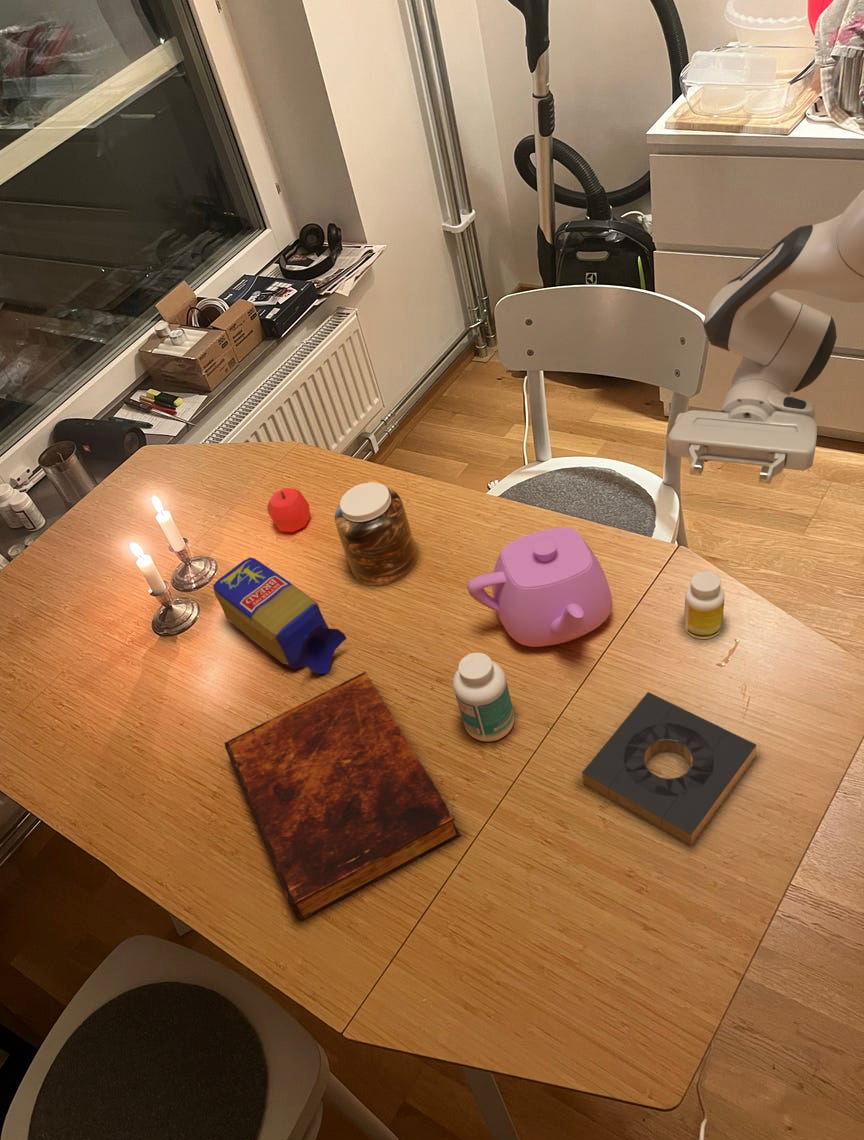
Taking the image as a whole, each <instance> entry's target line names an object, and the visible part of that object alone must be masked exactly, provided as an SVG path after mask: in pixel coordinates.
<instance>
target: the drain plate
mask: <svg viewBox="0 0 864 1140" xmlns="http://www.w3.org/2000/svg"><path fill="white" fill-rule="evenodd" d="M757 746H758V745H757V744H756V743H754V742H752V741H750V740H748V739H745V738H744V737H742V736H740V735H737V734H735V733H734V732H731V731H729V730H727V729H726V728H724V727H722V726H720V725H717V724H715V723H713V722H711V721H709V720H707V719H705V718H703V717H700V716H698V715H697V714H695V713H692V712H691V711H688V710H686V709H684V708H682V707H680V706H678V705H676V704H674V703H672V702H670V701H668V700H666V699H664V698H662V697H659V696H657V695H655V694H654V693H651V692H649V691H647V692H646V694H645V695H644V696H643V697H642V698H641V700H640V701H639V702H638V704H637V705H636V706H635V707H634V708H633V710H632V711H631V712H630V713H629V714H628V716H627V717H626V718H625V719H624V720H623V722H622V723H621V724H620V725H619V727H618V728H617V729H616V730H615V732H614V733H613V734H612V735H611V736H610V737H609V739H608V740H607V741H606V743H605V744H604V745H603V746H602V747H601V748H600V750H599V751H598V752H597V754H596V755H595V756H594V757H593V758H592V760H591V761H590V762H589V763H588V764H587V766H586V767H585V768H584V769H583V770H582V772H581V775H582V783H583V785H584V786H586V787H587V788H588V789H591V790H592V791H594V792H596V793H597V794H599V795H601V796H603V797H605V798H606V799H608V800H610V801H611V802H613V803H615V804H617V805H618V806H620V807H622V808H624V809H626V810H627V811H628V812H630V813H633V814H634V815H636V816H638V817H639V818H641V819H643V820H644V821H645V822H648V823H650V824H651V825H653V826H655V827H656V828H658V829H660V830H662V831H663V832H665V833H667V834H669V835H671V836H672V837H674V838H676V839H677V840H679V841H681V842H682V843H684V844H686V845H687V846H689V847H692V845H693V844H694V843H695V841H696V840H697V839H698V837H699V836H700V835H701V834H702V832H703V831H704V829H705V827H706V826H707V825H708V823H709V822H710V820H711V819H712V818H713V816H714V815H715V813H716V812H717V811H718V809H719V808H720V807H721V805H722V804H723V802H724V801H725V800H726V798H727V797H728V796H729V794H730V793H731V791H732V790H733V789H734V787H735V786H736V784H737V783H738V782H739V780H740V779H741V778H742V776H743V775H744V774H745V772H746V771H747V769H748V768H749V767H750V765H751V764H752V763H753V761H754V760H755V758H756V754H757ZM666 752H668V753H673V754H674V753H675V754H677V755H679V756H681V757H682V758H684V759H685V760H686V761H687V762H688V764H689V765H690V768H689V769H688V771H687V772H686V773H685V774H683V775H680V776H679V777H673V778H665V777H660V776H659V775H656V774H655V773H653V772H651V770H650V769H649V768H648V767H647V763H648V761H649V760H650V759H651V758H652V757H653V756H656V755H657V754H660V753H666Z"/></svg>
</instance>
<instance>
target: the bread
mask: <svg viewBox="0 0 864 1140" xmlns="http://www.w3.org/2000/svg"><path fill="white" fill-rule="evenodd" d="M212 587H213V592H214V596H215V598H216V600H217V601H218V603H219V605H220V606H221V609H222V611H223V613H224V616H225V618H226V619H227V620H228V621H229V622H230V623H231V624H233V625H234V626H235V627H236V628H238V629H239V630H240V631H241V632H243V634H245V635H246V636H247V637H248V638H249V639H250V640H252V641H253V642H255V643H256V644H257V645H259V646H260V647H261V648H262V649H264V650H265V651H266V652H267V653H268V654H270V655H271V656H273V657H274V658H275V659H277V660H278V661H279V662H281V663H282V664H283V665H285V666H286V667H288V668H290V669H293V670H295V671H296V670H298V669H302V668H304V667H306V668H308V669H310V670H311V671H313V672H314V673H315V674H321V675H325V674H328V673H331V663H332V658H333V656H334V654H335V652H336V650H337V649H338V648H339V647H340V646H341V645H342V643H343V642H345V641H346V640H347V636H346V634H345V633H344V632H342V631H341V630H339V629H338V628H329V626H328V624H327V622H326V619H325V618H324V616H323V614H322V611H321V609H320V605H319V603H318V602H317V601H316V600H314V599H313V597H311V596H310V595H308V594H306V593H305V592H304V591H303V590H301V589H300V588H298V587H297V586H296V585H295V584H294V583H292V582H290V581H289V580H287V579H286V578H284V577H283V576H281V575H280V574H278V572H276V571H274V570H273V569H271V568H270V567H268V566H267V565H265V564H264V563H262V562H261V561H260V560H258V559H256V558H255V557H248V558H246V559H244V560H242V561H241V562H239V563H238V564H237V565H236V566H234V567H233V568H232V569H231V570H229V571H227V573H225V574H224V575H223V576H221V577H220V578H219V579H217V580H216V582H215V583H213V584H212Z"/></svg>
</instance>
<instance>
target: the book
mask: <svg viewBox="0 0 864 1140" xmlns="http://www.w3.org/2000/svg"><path fill="white" fill-rule="evenodd" d="M224 749H225V750H226V753H227V756H228V758H229V760H230V763H231V765H232V768H233V770H234V772H235V775H236V777H237V780H238V783H239V784H240V787H241V789H242V791H243V795H244V797H245V799H246V801H247V804H248V806H249V809H250V811H251V814H252V816H253V819H254V821H255V824H256V826H257V829H258V831H259V833H260V835H261V839H262V841H263V844H264V845H265V848H266V850H267V853H268V855H269V858H270V860H271V863H272V865H273V867H274V870H275V872H276V875H277V878H278V880H279V882H280V885H281V887H282V889H283V892H284V894H285V897H286V899H287V901H288V904H289V906H290V907H291V909H292V911H293V912H294V913H295V915H296V916H297V918H298V919H299V920H300V921H302V922H304V921H306V920H308V919H310V918H312V917H313V916H315V915H317V914H320V913H321V912H323V911H324V910H327V909H328V908H331V907H332V906H333V905H336V904H337V903H340V902H342V901H343V900H345V899H348V898H349V897H350V896H353V895H355V894H357V893H358V892H360V891H363V890H364V889H366V888H367V887H369V886H371V885H373V884H375V883H376V882H379V881H380V880H382V879H384V878H386V877H388V876H390V875H391V874H393V873H396V872H397V871H399V870H401V869H403V868H405V867H407V866H409V865H410V864H412V863H414V862H416V861H418V860H419V859H422V858H423V857H425V856H427V855H429V854H431V853H433V852H434V851H436V850H438V849H440V848H442V847H444V846H445V845H447V844H449V843H451V842H453V841H455V840H457V839H458V838H460V837H462V833H461V832H460V830H459V829H458V827H457V825H456V823H455V822H454V821H455V820H456V818H455V816H454V814H453V812H452V811H451V809H450V808H449V806H448V805H447V803H446V801H445V800H444V798H443V797H442V795H441V793H440V791H439V790H438V788H437V786H436V785H435V783H434V781H433V779H432V778H431V777H430V775H429V773H428V771H427V770H426V768H425V767H424V764H423V763H422V762H421V760H420V758H419V757H418V755H417V753H416V752H415V750H414V748H413V747H412V745H411V744H410V742H409V741H408V738H407V737H406V736H405V733H404V731H403V730H402V729H401V727H400V725H399V724H398V722H397V720H396V719H395V717H394V715H393V714H392V712H391V710H390V709H389V708H388V705H387V704H386V702H385V700H383V698H382V695H381V694H380V693H379V691H378V689H377V687H376V686H375V684H374V682H373V681H372V679H371V678H370V676H369V675H368V673H367V671H363V672H362V673H360V674H358V675H356V676H353V677H352V678H350V679H347V680H345V681H344V682H342V683H339V684H338V685H336V686H333V687H332V688H330V689H327V690H326V691H324V692H322V693H320V694H317V695H316V696H314V697H312V698H311V699H309V700H306V701H304V702H302V703H300V704H298V705H297V706H294V707H292V708H290V709H288V710H287V711H285V712H283V713H280V714H279V715H277V716H275V717H272V718H270V719H269V720H267V721H264V722H263V723H261V724H258V725H257V726H255V727H253V728H251V729H249V730H247V731H245V732H243V733H241V734H239V735H237V736H235V737H233V738H231V739H229V740H227V741H225V742H224Z"/></svg>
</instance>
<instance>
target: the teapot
mask: <svg viewBox="0 0 864 1140" xmlns="http://www.w3.org/2000/svg"><path fill="white" fill-rule="evenodd" d="M605 574H606V573H605V571H604V570H603V567H602V565H601V563H600V561H599V559H598V558H597V556H596V555H595V553H594V552H593V550H592V549H591V548H590V546H589V544H588V543H587V542H586V541H585V539H584V538H583V537H582V536H581V534H580V533H579V532H578V531H577V530H576V529H575V528H573V527H568V526H567V527H566V526H561V527H552V528H547V529H542V530H538V531H535V532H531V533H529V534H526V535H523V536H521V537H519V538H516V539H514V540H512V541H511V542H510V543H507V544H506V545H505V546H503V548H502V550H500V553H499V554H498V558H497V560H496V562H495V565H494V569H493V572H489V573H484V574H480V575H478V576H475V577H473V578H471V579H470V580H469V581H468V582H467V584H466V585H467V586H466V589H467V592H468V594H469V595H470V597H472V599H474V600H475V601H476V602H477V603H479V604H481V605H483V606H484V607H486V608H488V609H490V610H492V611H495V612H496V614H497V617H498V619H499V621H500V623H501V624H502V625H503V628H504V629H505V631H506V632H507V634H508V636H510V637H511V638H512V639H513V640H514V641H515V642H516V643H518V644H520V645H521V646H525V647H532V648H537V647H538V648H540V647H548V646H555V645H559V644H560V645H561V644H564V643H568V642H571V641H573V640H575V639H579V638H580V637H583V636H585V635H587V634H589V633H591V632H592V631H595V630H596V629H597V628H599V627H600V626H601V625H602V624H603V623H604V622H606V620H607V619H608V617H609V616H610V615H611V612H612V609H613V597H612V593H611V589H610V586H609V581H608V579H607V577H606V575H605ZM488 587H491V590H492V591H491V592H492V596H491V595H489V594H488V592H487V591H486V590H485V588H488Z"/></svg>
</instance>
